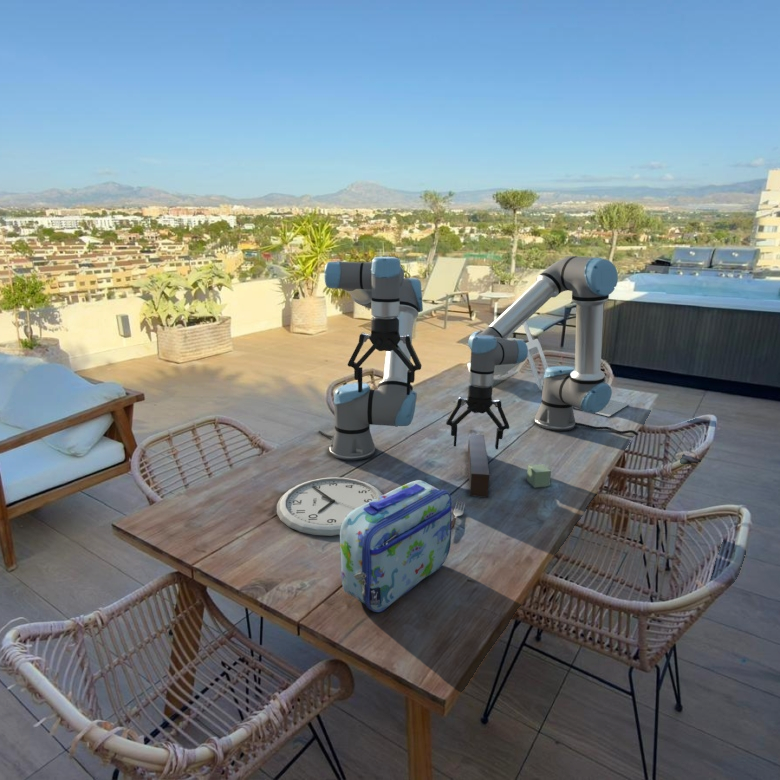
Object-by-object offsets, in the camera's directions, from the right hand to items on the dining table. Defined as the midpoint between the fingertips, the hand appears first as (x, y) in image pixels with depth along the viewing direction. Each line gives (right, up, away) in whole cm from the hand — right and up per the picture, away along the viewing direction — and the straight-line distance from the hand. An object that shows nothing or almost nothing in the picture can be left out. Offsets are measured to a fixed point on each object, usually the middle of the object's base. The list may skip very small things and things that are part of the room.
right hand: (475, 446), depth 172 cm
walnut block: (-1, -7, -9) cm, 12 cm away
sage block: (+16, -9, -15) cm, 24 cm away
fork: (-12, -16, -37) cm, 42 cm away
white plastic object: (+29, +21, +84) cm, 91 cm away
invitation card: (+63, +11, +54) cm, 84 cm away
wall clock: (-44, -13, -29) cm, 54 cm away
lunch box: (-27, -23, -60) cm, 70 cm away
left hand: (-30, +18, -26) cm, 43 cm away
